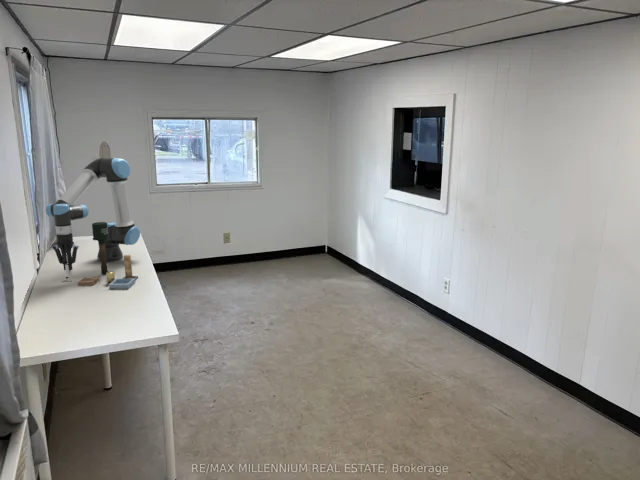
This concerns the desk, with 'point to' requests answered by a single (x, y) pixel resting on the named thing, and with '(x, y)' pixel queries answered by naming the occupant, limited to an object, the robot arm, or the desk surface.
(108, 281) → the cylinder
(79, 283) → the flat cardboard box
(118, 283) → the tray
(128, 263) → the dowel
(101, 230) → the stick grenade
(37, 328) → the desk surface
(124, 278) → the holder
